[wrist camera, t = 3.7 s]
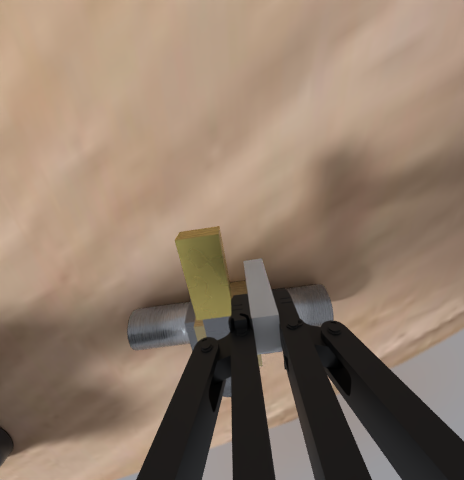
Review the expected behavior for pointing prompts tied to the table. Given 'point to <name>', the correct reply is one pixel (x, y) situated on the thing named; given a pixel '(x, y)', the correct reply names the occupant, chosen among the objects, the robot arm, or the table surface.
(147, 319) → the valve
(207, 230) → the lever
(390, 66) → the table surface
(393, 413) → the robot arm
